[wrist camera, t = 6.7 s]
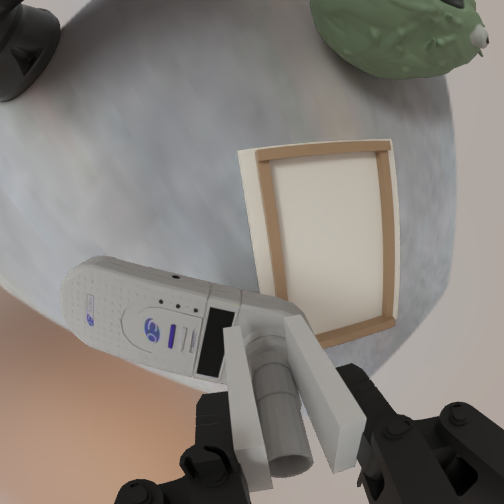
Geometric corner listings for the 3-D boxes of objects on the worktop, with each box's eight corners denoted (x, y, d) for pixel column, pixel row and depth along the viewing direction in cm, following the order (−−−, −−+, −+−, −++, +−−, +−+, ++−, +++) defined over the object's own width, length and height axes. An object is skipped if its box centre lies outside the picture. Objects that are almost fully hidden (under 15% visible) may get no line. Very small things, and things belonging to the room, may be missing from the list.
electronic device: (-36, 304, 5) (391, 417, 7) (81, 244, 15) (318, 301, 16) (-4, 405, 7) (325, 494, 8) (79, 318, 16) (292, 371, 18)
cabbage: (283, -8, 25) (333, -103, 6) (399, 21, 27) (481, -28, 8) (292, 85, 29) (379, -2, 9) (415, 106, 31) (526, 84, 12)
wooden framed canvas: (236, 151, 30) (239, 148, 27) (388, 139, 32) (400, 137, 29) (269, 351, 37) (273, 363, 34) (394, 316, 39) (404, 324, 36)
